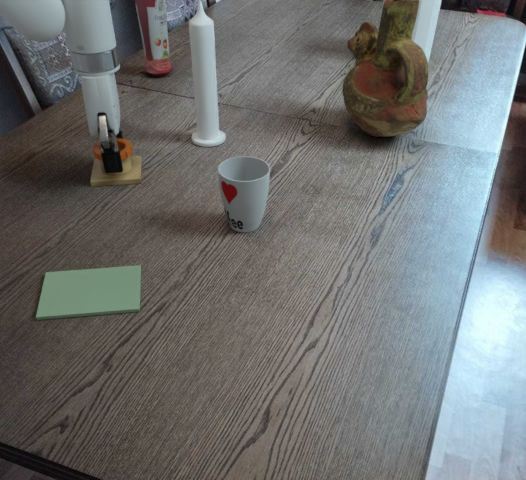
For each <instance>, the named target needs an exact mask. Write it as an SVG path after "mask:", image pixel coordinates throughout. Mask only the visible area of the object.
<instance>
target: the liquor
mask: <svg viewBox="0 0 526 480" xmlns="http://www.w3.org/2000/svg"><path fill="white" fill-rule="evenodd" d="M134 4H135V9H136V14H137V20H138V24H139V25H138V26H139V30H140V36H141V43H142V48H143V54H144V61H145V67H144V71H145V72H146V73H147V74H149V75H150V76H151V77H154V78H164V77H167V76H168V75H169V74H170V73H171V71H172V70H173V66H172V64H171V58H170V57H171V55H170V45H169V33H168V30H169V29H168V12H167V9H168V8H167V0H134Z"/></svg>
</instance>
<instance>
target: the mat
mask: <svg viewBox="0 0 526 480" xmlns="http://www.w3.org/2000/svg"><path fill="white" fill-rule="evenodd" d="M42 283H43V284H42V287H41V292H40V296H39V301H38V305H37V310H36V314H35V319H36V321H43V320H44V321H45V320H56V319H57V320H58V319H69V318H81V317H91V316H92V317H93V316H104V315H116V314H128V313H129V314H130V313H140V312H141V294H142V293H141V292H142V290H141V289H142V265H141V264H138V265H137V264H135V265H124V266H123V265H122V266H111V267H97V268H86V269H85V268H84V269H71V270H70V269H69V270H59V271H58V270H57V271H56V270H55V271H46V272H45V273H44V278H43V282H42Z"/></svg>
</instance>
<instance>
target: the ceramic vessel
mask: <svg viewBox="0 0 526 480" xmlns="http://www.w3.org/2000/svg"><path fill="white" fill-rule="evenodd" d="M382 6H383V10H382V9H381V13H382V15H381V14H380V19H381V20H380V19H379V26H378V28H377V26H376V25H375V24H374V23H373V22H371V21H364V22H362V23H361V24H360V26H359V29H358V30H356V31H355V33H354V36H352V37H351V38H349V39H348V40H347V42H346V47H347V49H348V50H349V52H350V53H351V55H353V58H354V61H355V64H354V66H353V67H352V68H351V69H349V71H348V72H347V74H346V76H345V77H344V80H343V83H342V96H343V103H344V106H345V109H346V113H347V114H348V115H349V117H350V118H351V120H353V122H354V123H355V124H356V125H357V126H359V128H360V129H361V130H362V131H363V132H364V133H366V134H368V135H370V136H371V137H372V136H373V137H377V138H378V137H385V138H386V137H394V136H395V137H396V136H399V135H404V134H406V133H410V132H411V131H413V130H415V129H416V128H418V127H419V126H421V125H422V124H423V123H424V122H425V120H426V118H427V116H428V115H427V114H428V106H427V100H428V98H429V97H428V95H429V94H428V89H427V86H428V82H429V81H428V80H429V63H428V61H427V58H426V56H425V53H424V52H423V50H422V48H421V47H420V46H419V45H417V44H416V43H414V42H413V41H412V33H413V29H414V25H415V22H416V18H417V13H418V7H419V0H385V1H384V4H383V3H382Z"/></svg>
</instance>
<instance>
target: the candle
mask: <svg viewBox="0 0 526 480" xmlns="http://www.w3.org/2000/svg"><path fill="white" fill-rule="evenodd" d="M196 10H197V11H196V13H195V15H193V17H192V18H190V19H189V20H188V32H189V33H188V35H189V45H190V59H191V70H192V85H193V96H194V107H195V108H194V109H195V120H196V121H195V122H196V131H194V132H193V133H192V134H191V142H192V143H193V144H194V145H196V146H199V147H204V148H213V147H217V146H220V145H222V144H224V143H225V142H226V139H227V135H226V133H225V132H224V131H222V130H220V120H219V97H218V79H217V60H216V59H217V57H216V43H215V42H216V40H215V22H214V20H213V19H212V18H210V17H209V16H208V15H207V14H206V12H205V10H204V7H203V3H202V0H198V2H197V7H196Z"/></svg>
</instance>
